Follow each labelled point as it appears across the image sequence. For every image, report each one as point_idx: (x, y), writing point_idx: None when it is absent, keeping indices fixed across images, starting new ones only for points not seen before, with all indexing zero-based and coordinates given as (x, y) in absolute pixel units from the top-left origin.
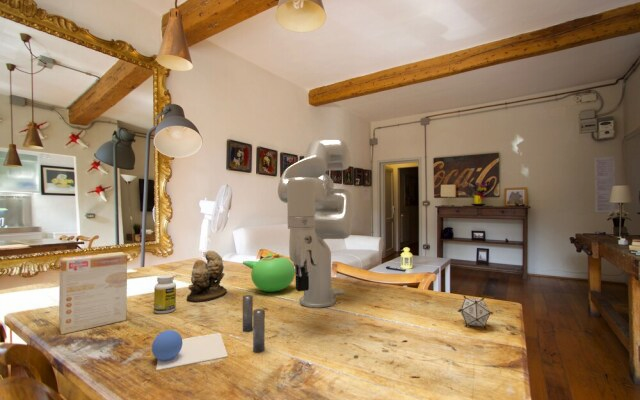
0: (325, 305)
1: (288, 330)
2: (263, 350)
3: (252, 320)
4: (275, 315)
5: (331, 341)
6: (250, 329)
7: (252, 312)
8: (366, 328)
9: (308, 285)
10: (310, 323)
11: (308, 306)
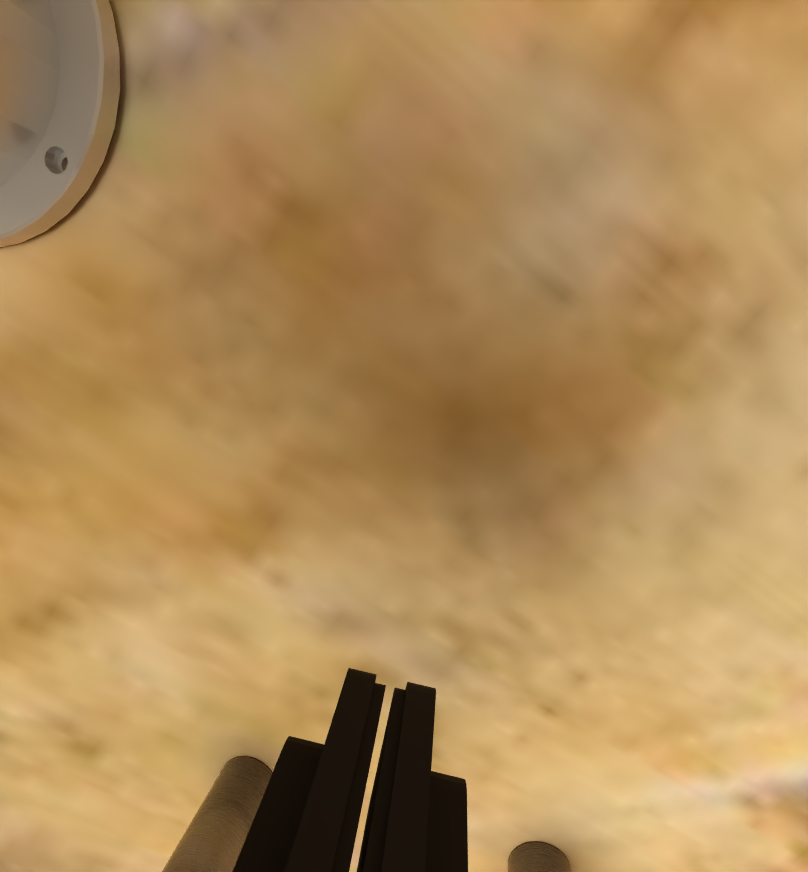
0: (111, 81)
1: (394, 612)
2: (567, 862)
3: (236, 812)
4: (102, 536)
5: (738, 500)
6: None
7: (210, 867)
8: (755, 95)
9: (430, 737)
10: (373, 424)
11: (49, 227)
